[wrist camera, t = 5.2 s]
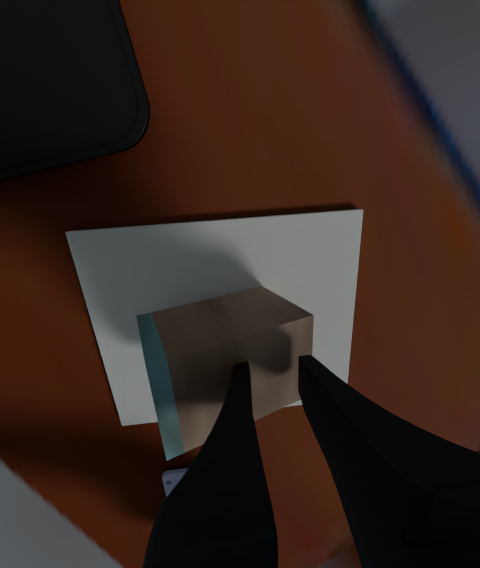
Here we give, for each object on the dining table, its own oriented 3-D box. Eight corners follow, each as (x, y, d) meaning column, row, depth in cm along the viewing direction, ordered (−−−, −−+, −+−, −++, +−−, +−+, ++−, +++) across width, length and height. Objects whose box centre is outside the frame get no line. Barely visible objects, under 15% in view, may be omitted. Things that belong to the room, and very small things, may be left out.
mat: (342, 394, 21) (345, 399, 21) (124, 419, 20) (121, 425, 20) (358, 209, 16) (363, 209, 16) (70, 230, 15) (65, 232, 15)
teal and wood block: (310, 394, 14) (166, 460, 11) (265, 350, 19) (152, 389, 15) (313, 314, 13) (145, 366, 9) (263, 286, 17) (136, 315, 14)
